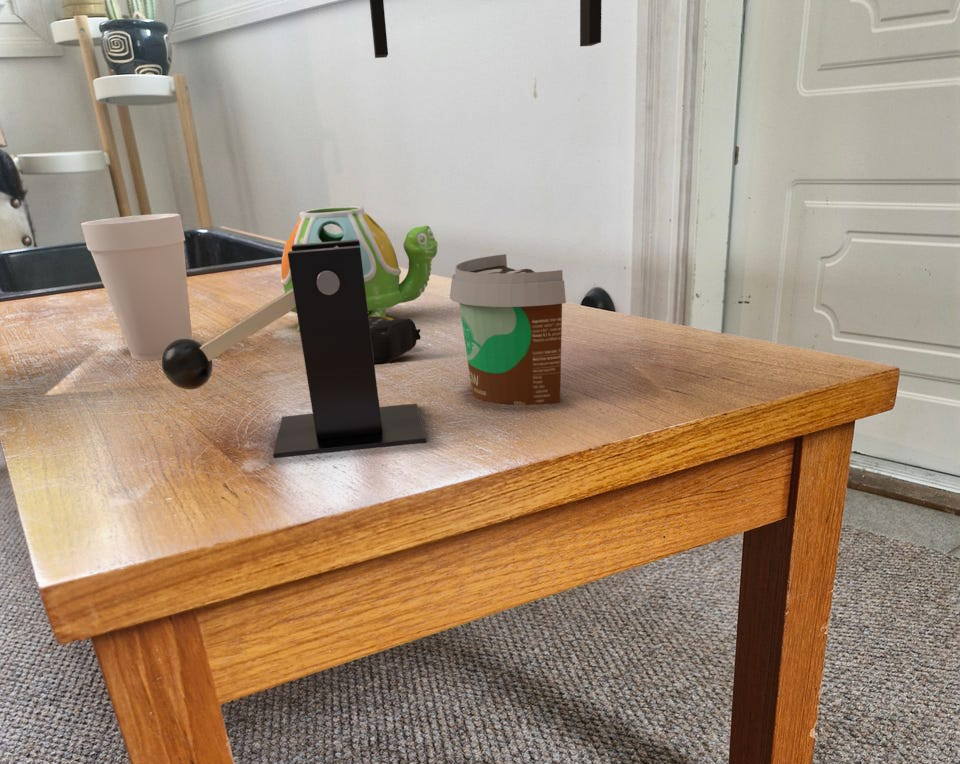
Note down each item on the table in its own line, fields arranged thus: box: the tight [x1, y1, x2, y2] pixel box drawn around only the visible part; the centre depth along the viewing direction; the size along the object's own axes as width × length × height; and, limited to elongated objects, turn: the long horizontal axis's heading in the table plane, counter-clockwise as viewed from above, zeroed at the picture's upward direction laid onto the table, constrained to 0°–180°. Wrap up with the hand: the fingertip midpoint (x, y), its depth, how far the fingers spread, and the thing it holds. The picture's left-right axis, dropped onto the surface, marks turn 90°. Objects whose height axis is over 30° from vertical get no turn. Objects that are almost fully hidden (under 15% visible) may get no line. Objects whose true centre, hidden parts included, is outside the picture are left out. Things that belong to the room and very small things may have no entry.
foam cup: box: [80, 213, 193, 361], centre depth 92 cm, size 10×9×13 cm
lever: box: [161, 246, 338, 390], centre depth 58 cm, size 14×3×3 cm, turn 98°
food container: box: [449, 253, 567, 406], centre depth 67 cm, size 12×6×10 cm, turn 18°
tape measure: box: [369, 316, 421, 364], centre depth 84 cm, size 7×7×4 cm
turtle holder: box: [280, 205, 438, 333], centre depth 101 cm, size 12×18×12 cm
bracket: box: [272, 239, 427, 459], centre depth 60 cm, size 10×9×13 cm
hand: (486, 51), depth 58 cm, fingers open, 13 cm apart
